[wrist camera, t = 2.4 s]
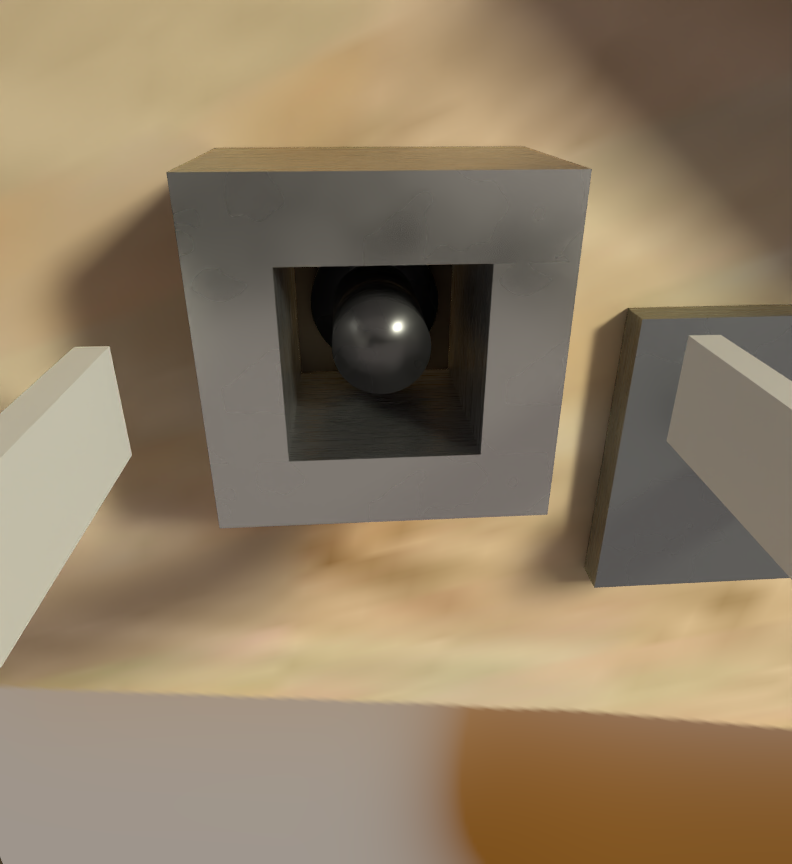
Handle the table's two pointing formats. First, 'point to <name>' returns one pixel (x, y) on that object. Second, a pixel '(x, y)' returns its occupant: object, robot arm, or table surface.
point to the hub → (673, 457)
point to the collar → (328, 391)
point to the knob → (376, 322)
